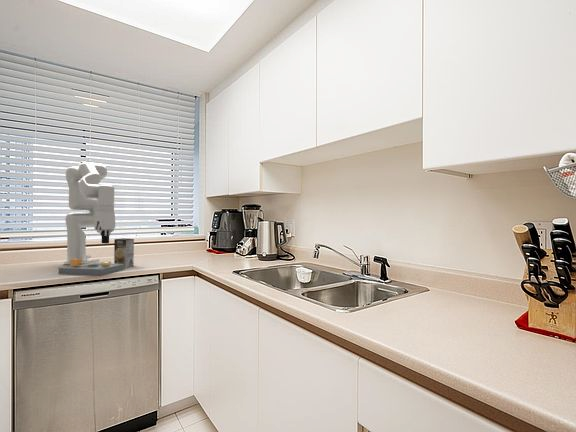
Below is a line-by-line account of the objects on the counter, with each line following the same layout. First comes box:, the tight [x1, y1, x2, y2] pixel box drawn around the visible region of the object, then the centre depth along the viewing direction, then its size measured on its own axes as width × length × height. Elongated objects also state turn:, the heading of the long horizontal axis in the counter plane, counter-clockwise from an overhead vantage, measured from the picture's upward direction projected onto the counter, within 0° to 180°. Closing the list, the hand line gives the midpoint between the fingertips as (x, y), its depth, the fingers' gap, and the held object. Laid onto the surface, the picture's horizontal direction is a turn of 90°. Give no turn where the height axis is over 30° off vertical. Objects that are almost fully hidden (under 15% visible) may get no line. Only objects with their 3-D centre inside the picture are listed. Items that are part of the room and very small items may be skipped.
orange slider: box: [69, 259, 82, 266], centre depth 163 cm, size 3×4×4 cm
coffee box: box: [113, 237, 135, 268], centre depth 184 cm, size 9×6×16 cm
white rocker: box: [85, 258, 101, 264], centre depth 164 cm, size 4×5×2 cm
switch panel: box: [58, 262, 126, 276], centre depth 164 cm, size 18×24×4 cm
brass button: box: [100, 261, 112, 266], centre depth 163 cm, size 5×5×2 cm
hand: (105, 243), depth 164 cm, fingers closed
